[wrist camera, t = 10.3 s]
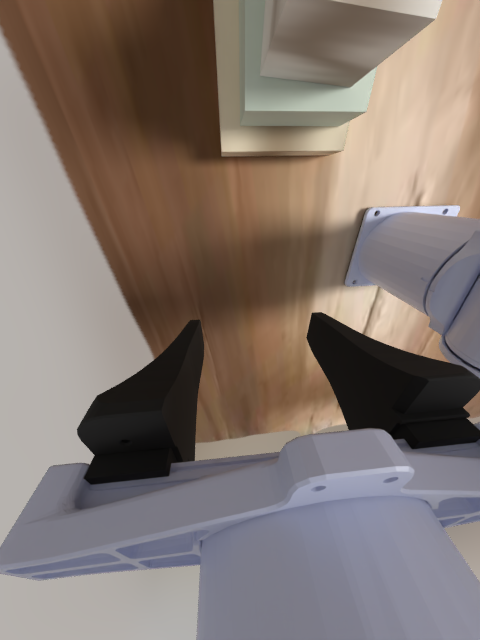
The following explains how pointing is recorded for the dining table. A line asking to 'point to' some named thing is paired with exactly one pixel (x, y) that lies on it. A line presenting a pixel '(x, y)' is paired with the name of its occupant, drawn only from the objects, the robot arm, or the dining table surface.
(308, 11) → the ivory cube
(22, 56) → the dining table surface
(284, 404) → the dining table surface
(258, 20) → the sage block
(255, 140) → the birch slab
